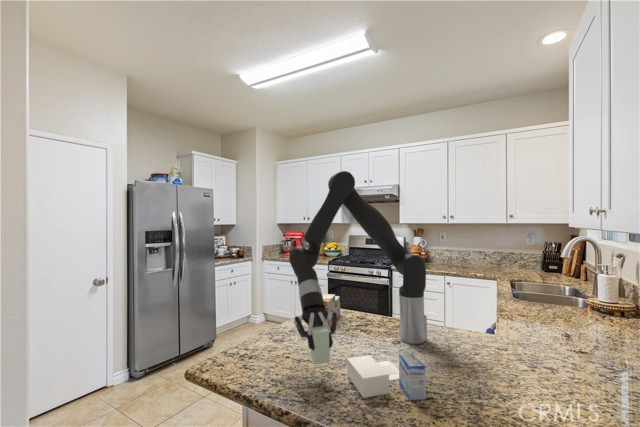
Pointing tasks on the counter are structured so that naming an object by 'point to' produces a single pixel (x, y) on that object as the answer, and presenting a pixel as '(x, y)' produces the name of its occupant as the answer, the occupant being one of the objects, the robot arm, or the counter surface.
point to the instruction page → (390, 370)
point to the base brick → (368, 376)
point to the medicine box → (412, 376)
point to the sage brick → (320, 345)
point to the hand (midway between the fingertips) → (321, 348)
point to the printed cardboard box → (331, 305)
